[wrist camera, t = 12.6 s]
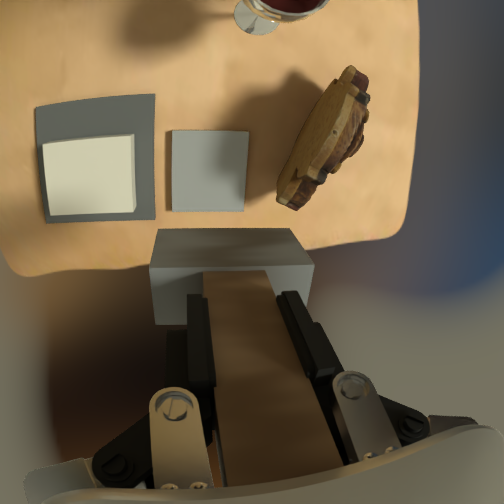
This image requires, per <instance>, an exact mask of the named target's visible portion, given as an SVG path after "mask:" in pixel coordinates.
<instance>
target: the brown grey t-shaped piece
mask: <svg viewBox="0 0 504 504" xmlns="http://www.w3.org/2000/svg"><path fill="white" fill-rule="evenodd" d="M314 266H315V265H314V263H313V262H312V260H311V259H310V257H309V256H308V254H307V253H306V251H305V250H304V248H303V247H302V246H301V244H300V243H299V241H298V240H297V238H296V237H295V235H294V234H293V233H292V231H291V230H290V228H182V229H158V231H157V236H156V240H155V244H154V248H153V253H152V257H151V262H150V267H149V272H150V281H151V290H152V299H153V306H154V314H155V322H156V325H177V324H187V294H202V298H208V308H209V318H210V327H211V337H212V345H213V354H214V363H215V371H216V384H217V387H214V415H215V436H216V444H217V452H218V459H219V466H220V473H221V479H222V485H223V487H234V486H244V485H252V484H260V483H267V482H273V481H280V480H285V479H291V478H296V477H301V476H306V475H311V474H315V473H320V472H324V471H328V470H332V469H336V468H340V467H343V466H344V465H343V462H342V460H341V457H340V455H339V452H338V450H337V447H336V445H335V442H334V440H333V437H332V435H331V432H330V430H329V427H328V425H327V422H326V420H325V417H324V415H323V412H322V410H321V407H320V405H319V402H318V400H317V397H316V395H315V392H314V390H313V387H312V385H311V382H310V380H309V378H306V376H305V373H304V371H303V368H302V366H301V363H300V360H299V358H298V355H297V353H296V350H295V348H294V345H293V343H292V340H291V338H290V335H289V333H288V330H287V328H286V325H285V323H284V320H283V317H282V315H281V312H280V310H279V307H278V305H277V302H276V296H277V295H281V292H282V291H292V290H297V291H298V293H299V295H300V297H301V299H302V301H303V303H304V305H305V307H306V305H307V300H308V295H309V291H310V285H311V281H312V276H313V271H314Z"/></svg>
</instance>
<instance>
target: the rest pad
mask: <svg viewBox="0 0 504 504" xmlns="http://www.w3.org/2000/svg"><path fill="white" fill-rule="evenodd" d="M248 143H249V132H248V131H228V130H172V212H244V198H245V184H246V170H247V157H248Z"/></svg>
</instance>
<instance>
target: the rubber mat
mask: <svg viewBox="0 0 504 504" xmlns="http://www.w3.org/2000/svg"><path fill="white" fill-rule="evenodd" d="M154 118H155V94H137V95H123V96H111V97H101V98H92V99H84V100H76V101H69V102H62V103H56V104H50V105H45V106H39V107H36V135H37V152H38V164H39V175H40V183H41V191H42V199H43V206H44V212H45V218H46V224H47V223H68V222H94V221H126V220H155V218H156V216H155V187H154ZM119 134H134V153H135V187H136V208H135V210H134V212H124V213H95V214H73V215H54V216H50V210H49V203H48V196H47V188H46V179H45V169H44V158H43V144H45V143H47V142H50V141H57V140H65V139H73V138H83V137H93V136H105V135H119Z"/></svg>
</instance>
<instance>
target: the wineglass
mask: <svg viewBox="0 0 504 504" xmlns="http://www.w3.org/2000/svg"><path fill="white" fill-rule="evenodd" d="M328 1H329V0H242V1H240V2H239V3H238V5H237V6H236V8H235V11H234V17H235V21H236V23H237V25H238V26H239V27H240V28H241V29H242V30H244V31H246V32H247V33H250V34H254V35H264V34H267V33H270V32H272V31H273V30H275V29H276V27H277V26H278V25H279V23H292V22H296V21H300V20H305V19H306V18H308V17H310V16H311V15H313V14H315V12H316V11H318V10H320V9H322V8H323V7H324V6H325V5H326V4H327V2H328Z"/></svg>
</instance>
